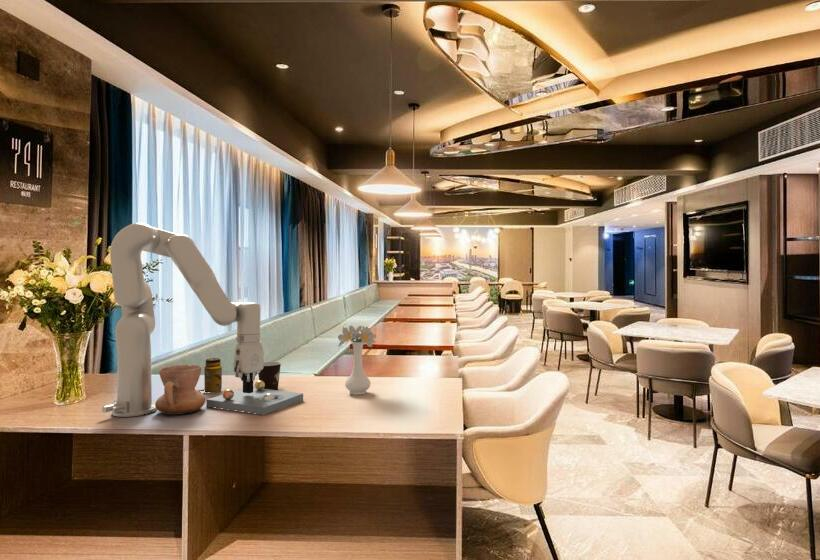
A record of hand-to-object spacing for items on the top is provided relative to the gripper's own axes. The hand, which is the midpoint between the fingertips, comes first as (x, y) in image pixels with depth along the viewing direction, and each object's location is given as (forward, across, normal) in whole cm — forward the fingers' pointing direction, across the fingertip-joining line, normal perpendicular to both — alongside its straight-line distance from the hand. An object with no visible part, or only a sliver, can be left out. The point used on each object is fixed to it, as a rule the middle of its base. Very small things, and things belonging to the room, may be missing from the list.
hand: (247, 392), depth 171 cm
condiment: (+4, +7, +25) cm, 26 cm away
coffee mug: (+4, +19, +6) cm, 20 cm away
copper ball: (-1, -7, +2) cm, 7 cm away
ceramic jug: (+4, -18, +12) cm, 22 cm away
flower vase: (+3, +28, -26) cm, 39 cm away
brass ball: (-1, +8, +2) cm, 8 cm away
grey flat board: (+4, 0, -3) cm, 5 cm away
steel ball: (+2, 0, -9) cm, 9 cm away
